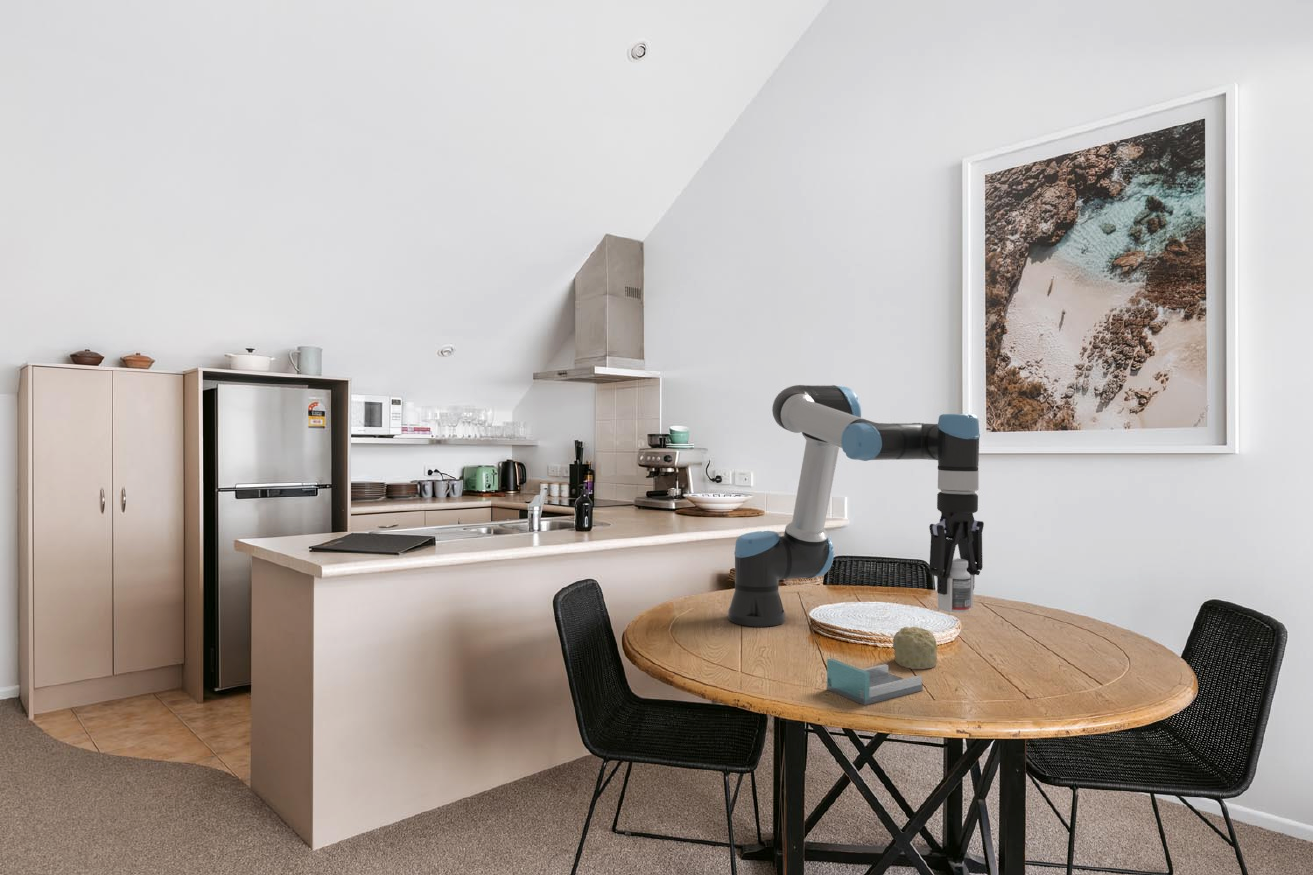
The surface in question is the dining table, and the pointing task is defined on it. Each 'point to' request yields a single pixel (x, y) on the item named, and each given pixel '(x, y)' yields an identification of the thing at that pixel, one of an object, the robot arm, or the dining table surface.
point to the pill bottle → (960, 586)
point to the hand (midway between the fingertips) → (955, 608)
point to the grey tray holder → (868, 683)
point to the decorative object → (915, 648)
